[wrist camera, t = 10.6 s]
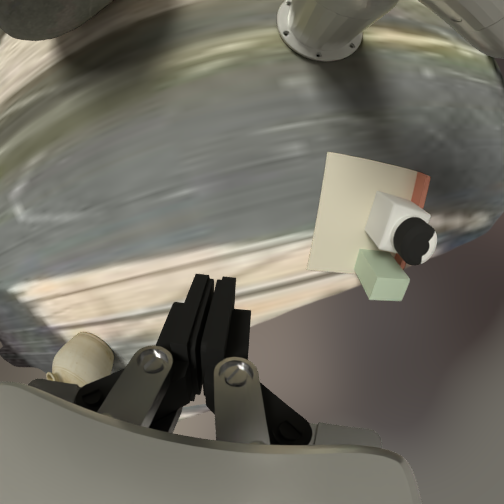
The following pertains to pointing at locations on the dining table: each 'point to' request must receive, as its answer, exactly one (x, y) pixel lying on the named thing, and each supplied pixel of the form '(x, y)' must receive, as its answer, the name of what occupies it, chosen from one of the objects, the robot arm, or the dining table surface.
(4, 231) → the dining table surface
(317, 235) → the cream flat block
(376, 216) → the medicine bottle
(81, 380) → the jug
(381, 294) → the tea box
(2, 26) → the ceramic pot
